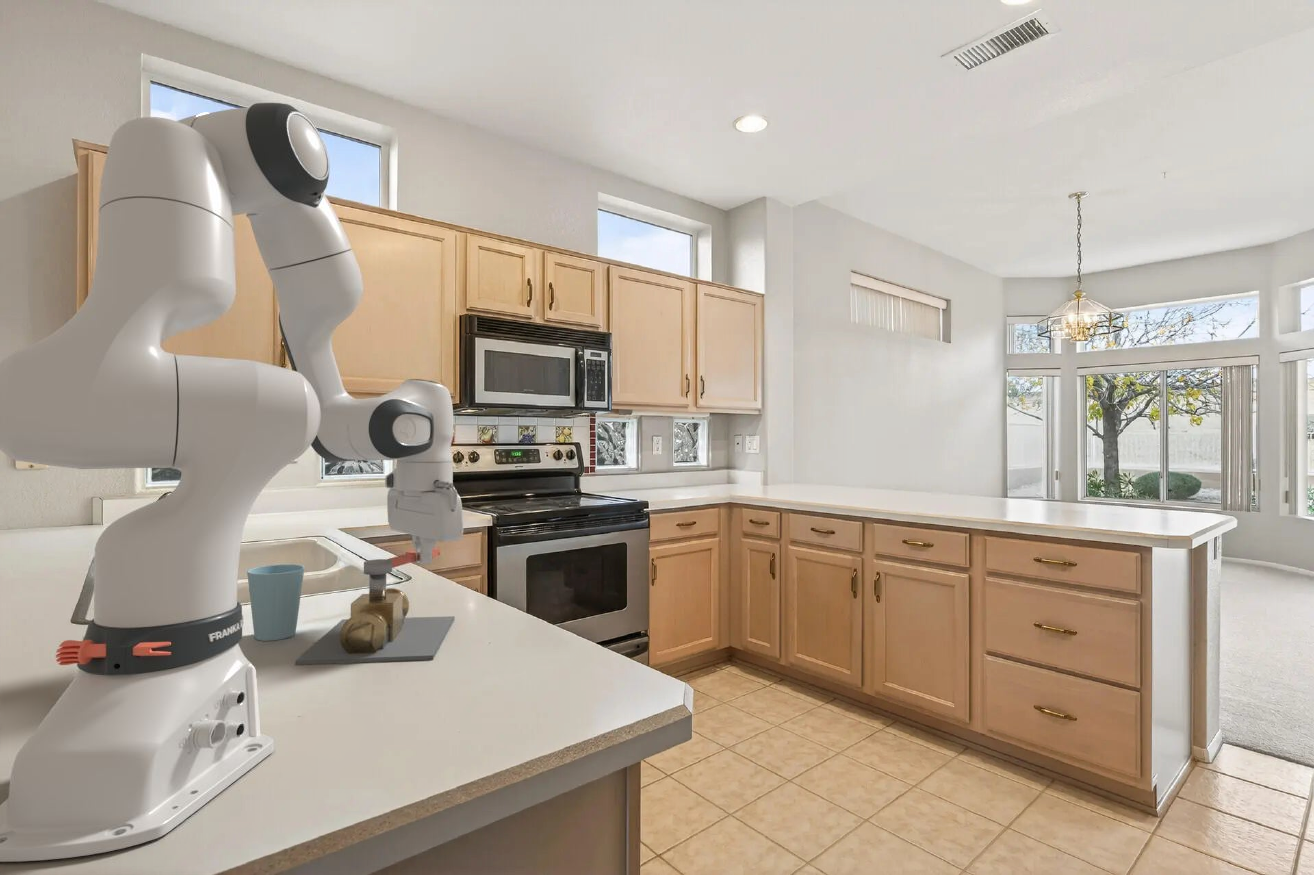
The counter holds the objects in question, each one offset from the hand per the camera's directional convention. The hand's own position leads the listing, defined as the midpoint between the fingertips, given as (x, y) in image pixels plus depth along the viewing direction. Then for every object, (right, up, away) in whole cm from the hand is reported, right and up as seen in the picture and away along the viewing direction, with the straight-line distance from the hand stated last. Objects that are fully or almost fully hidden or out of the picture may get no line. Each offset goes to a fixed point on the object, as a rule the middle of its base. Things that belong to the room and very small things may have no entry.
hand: (423, 563), depth 108 cm
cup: (-21, -10, -6) cm, 24 cm away
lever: (-3, 0, -2) cm, 3 cm away
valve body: (-4, -10, -8) cm, 13 cm away
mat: (-3, -10, -7) cm, 13 cm away
